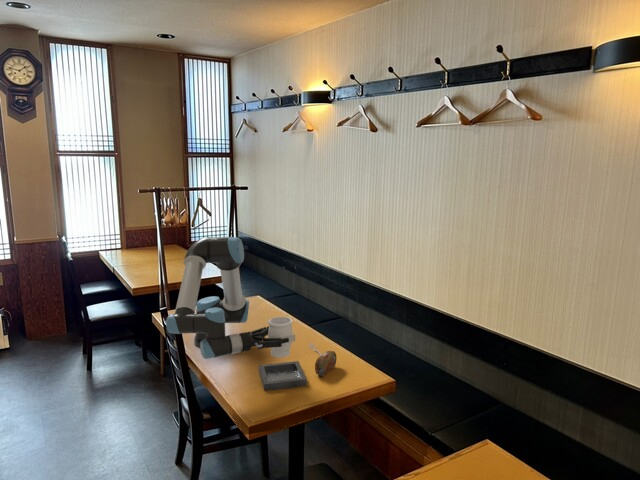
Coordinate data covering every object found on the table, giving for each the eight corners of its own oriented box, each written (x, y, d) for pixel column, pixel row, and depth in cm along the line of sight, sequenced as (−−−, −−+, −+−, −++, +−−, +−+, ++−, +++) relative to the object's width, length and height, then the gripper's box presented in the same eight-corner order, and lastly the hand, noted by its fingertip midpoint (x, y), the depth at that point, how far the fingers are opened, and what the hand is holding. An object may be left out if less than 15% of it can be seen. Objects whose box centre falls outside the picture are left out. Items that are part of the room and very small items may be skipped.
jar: (288, 360, 190) (288, 326, 187) (264, 357, 192) (264, 323, 190) (295, 350, 200) (295, 317, 198) (272, 347, 202) (272, 315, 200)
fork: (327, 366, 212) (327, 362, 211) (307, 346, 234) (307, 343, 233) (333, 364, 213) (333, 361, 213) (313, 345, 235) (313, 342, 235)
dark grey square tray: (259, 371, 205) (258, 365, 205) (298, 367, 210) (298, 361, 209) (264, 391, 188) (264, 384, 187) (307, 386, 192) (307, 379, 192)
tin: (319, 379, 198) (319, 361, 197) (313, 377, 200) (313, 359, 199) (337, 366, 211) (337, 348, 209) (331, 364, 213) (331, 347, 211)
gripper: (231, 341, 197) (278, 332, 207) (249, 362, 177) (301, 351, 187) (230, 325, 196) (278, 316, 206) (249, 344, 176) (301, 334, 186)
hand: (289, 333), depth 197 cm, fingers closed on jar, 10 cm apart
